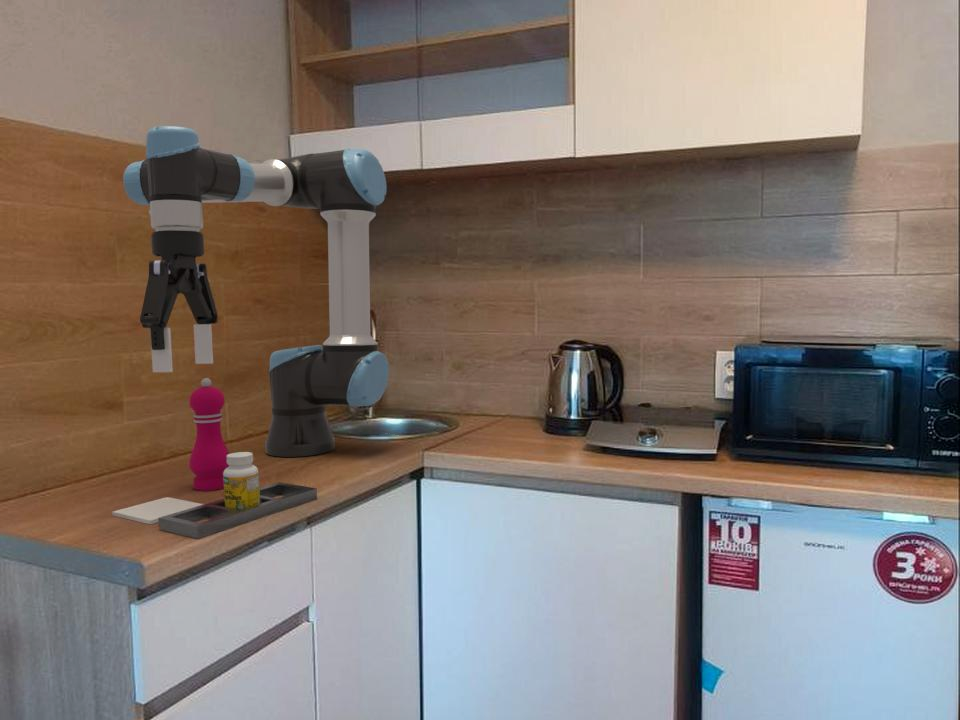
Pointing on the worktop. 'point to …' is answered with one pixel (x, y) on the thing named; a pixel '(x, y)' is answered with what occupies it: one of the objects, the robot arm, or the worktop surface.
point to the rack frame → (235, 511)
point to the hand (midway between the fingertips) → (184, 367)
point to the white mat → (154, 509)
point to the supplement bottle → (241, 481)
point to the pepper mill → (208, 438)
